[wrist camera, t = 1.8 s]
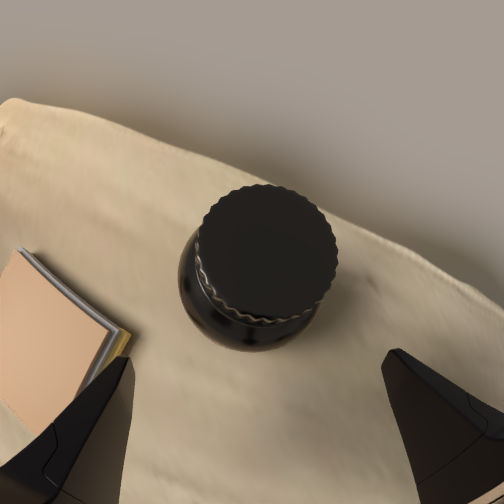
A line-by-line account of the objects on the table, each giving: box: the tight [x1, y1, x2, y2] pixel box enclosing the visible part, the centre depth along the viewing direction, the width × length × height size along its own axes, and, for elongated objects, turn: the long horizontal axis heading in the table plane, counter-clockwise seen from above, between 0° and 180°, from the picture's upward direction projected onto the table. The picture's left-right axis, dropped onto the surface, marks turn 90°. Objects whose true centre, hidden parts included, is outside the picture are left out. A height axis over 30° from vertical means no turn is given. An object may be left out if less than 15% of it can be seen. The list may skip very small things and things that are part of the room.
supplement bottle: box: [178, 184, 338, 352], centre depth 14 cm, size 7×7×12 cm
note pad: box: [0, 246, 132, 437], centre depth 15 cm, size 12×12×3 cm
